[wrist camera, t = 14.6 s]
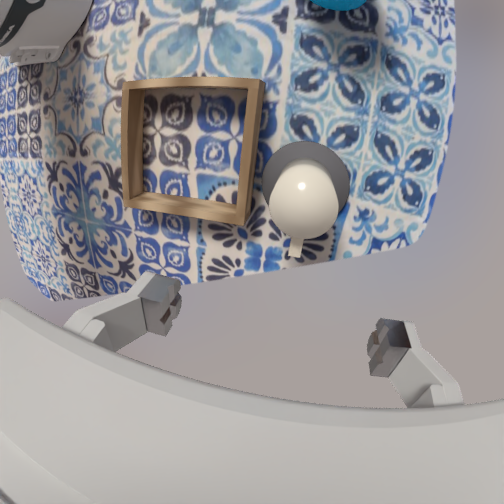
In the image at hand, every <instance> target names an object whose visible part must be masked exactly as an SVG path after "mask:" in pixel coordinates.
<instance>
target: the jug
mask: <svg viewBox="0 0 504 504" xmlns="http://www.w3.org/2000/svg"><path fill="white" fill-rule="evenodd" d="M338 208H339V205H338V199H337V195H336V192H335V189H334V185H333V182H332V179H331V175H330V173H329V171H328V170H327V168H326V167H325V166H324V165H323V164H322V163H320V162H319V161H317V160H315V159H312V158H298V159H295V160H293V161H291V162H289V163H288V164H287V165H286V166H285V167H284V168H283V170H282V172H281V174H280V176H279V178H278V180H277V182H276V184H275V187H274V189H273V191H272V193H271V196H270V200H269V211H270V215H271V218H272V220H273V222H274V223H275V225H276V226H277V227H278V228H279V229H280V230H281V231H282V232H284V233H285V234H287V235H289V236H291V242H290V248H289V253H288V256H293V257H298V258H300V255H301V250H302V246H303V241H304V239H311V238H315V237H318V236H320V235H322V234H324V233H325V232H327V231H328V230H329V229H330V228H331V227H332V225H333V224H334V222H335V220H336V218H337V215H338Z"/></svg>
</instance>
